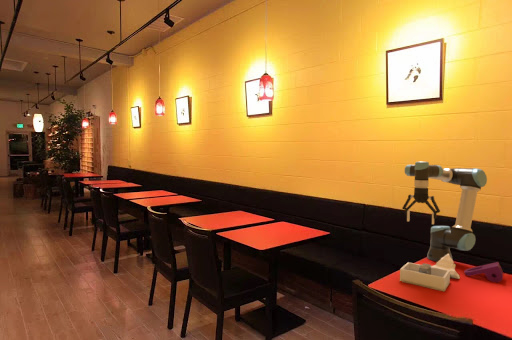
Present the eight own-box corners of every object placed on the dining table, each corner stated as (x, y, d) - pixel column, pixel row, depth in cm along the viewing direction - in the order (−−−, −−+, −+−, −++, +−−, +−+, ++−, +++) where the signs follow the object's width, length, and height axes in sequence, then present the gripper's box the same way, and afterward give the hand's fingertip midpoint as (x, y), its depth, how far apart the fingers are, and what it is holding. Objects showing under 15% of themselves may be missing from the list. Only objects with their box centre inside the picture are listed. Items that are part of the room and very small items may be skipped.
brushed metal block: (423, 277, 188) (423, 263, 188) (430, 278, 186) (431, 264, 185) (418, 281, 180) (419, 267, 180) (426, 283, 178) (427, 269, 178)
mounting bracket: (470, 287, 191) (505, 280, 181) (463, 273, 193) (497, 265, 183) (471, 282, 199) (505, 276, 189) (464, 269, 201) (498, 261, 191)
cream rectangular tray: (407, 273, 196) (407, 262, 196) (449, 282, 182) (450, 270, 182) (399, 281, 184) (400, 269, 183) (444, 291, 170) (444, 278, 169)
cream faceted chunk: (431, 273, 202) (434, 250, 204) (459, 280, 193) (462, 256, 195) (429, 273, 192) (432, 249, 194) (458, 281, 183) (462, 256, 185)
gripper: (397, 186, 201) (396, 220, 202) (443, 189, 185) (442, 226, 186) (401, 185, 207) (400, 219, 207) (446, 188, 191) (445, 224, 192)
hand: (420, 222), depth 197 cm, fingers open, 13 cm apart
